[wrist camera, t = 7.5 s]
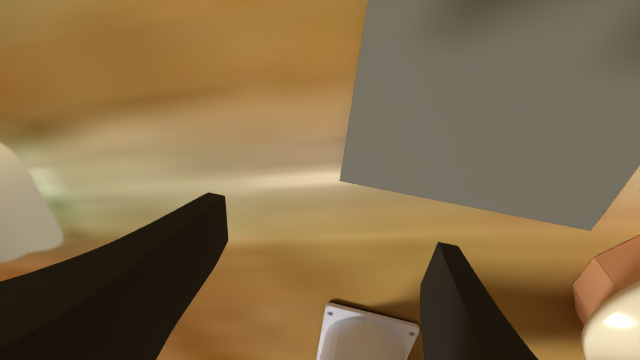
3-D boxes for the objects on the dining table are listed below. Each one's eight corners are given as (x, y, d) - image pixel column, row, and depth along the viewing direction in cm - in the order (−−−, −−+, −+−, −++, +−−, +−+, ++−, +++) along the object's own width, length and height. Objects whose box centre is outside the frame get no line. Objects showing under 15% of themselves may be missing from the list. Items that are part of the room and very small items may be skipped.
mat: (586, 225, 19) (590, 230, 19) (340, 176, 21) (339, 180, 21) (824, -104, 11) (841, -108, 11) (390, -136, 13) (390, -140, 12)
